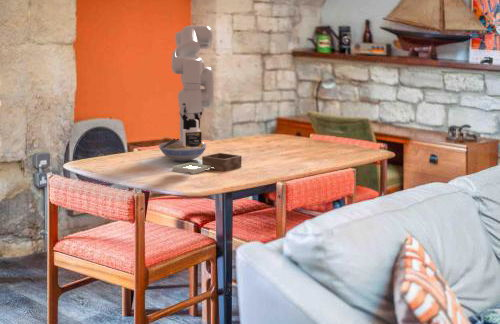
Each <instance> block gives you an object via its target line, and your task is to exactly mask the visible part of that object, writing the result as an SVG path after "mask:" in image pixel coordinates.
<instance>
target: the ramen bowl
mask: <svg viewBox="0 0 500 324" xmlns="http://www.w3.org/2000/svg"><path fill="white" fill-rule="evenodd" d="M207 146H208V145H207V143H204V142H202V147H197V148H185V147H184V146H183V141H180V138H177V139H176V138H173V139H172V140H170V141H167V142H166V141H165V142H162V143H159V144H158V148H159V149H160V151H161V153H162V154H163V155H165V157H167V158H168V159H170V160H173V161H175V162H179V161H187V162H190V160H191V161H192V160H194V159H196V158H199V157H200V156H201V155H202V154H203V153H204V152H205V150H206V149H207Z"/></svg>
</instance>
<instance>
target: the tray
mask: <svg viewBox="0 0 500 324" xmlns="http://www.w3.org/2000/svg"><path fill="white" fill-rule="evenodd" d="M189 165H192V166H198V167H201V168H197V169H188V168H183V167H186V166H189ZM208 168H211V166H209V165H203V164H201V163H196V162H187V163H182V164H177V165H173V166H172V168H171V169H172V171H174V172H179V171H180V172H179V173H185V172H190V173H191V174H192V175H195V174H199V173H203V172H202V171H203V170H205V169H208ZM190 173H189V174H190ZM191 174H190V175H191Z"/></svg>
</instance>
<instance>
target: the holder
mask: <svg viewBox="0 0 500 324" xmlns="http://www.w3.org/2000/svg"><path fill="white" fill-rule="evenodd" d="M242 158H243V157H242V155H238V154H231V153H225V152H218V153H217V152H216V153H211V154H208V155H203V156H201V159H202V161H201V163H202V164H203V165H209V166H211V167H214V168H215V169H214V170H216V171H223V172H225V171H226V172H227V171H229V170H234V169H237V168H241V167H242Z"/></svg>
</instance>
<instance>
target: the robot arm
mask: <svg viewBox="0 0 500 324" xmlns="http://www.w3.org/2000/svg"><path fill="white" fill-rule="evenodd" d="M213 38H214V37H213V30H212V28H211V27H210V26H207V25H186V26H184V27H183V28H182V30H180V31H178V32H175V36H174V41H175V45H176V48H175V49H174V50H173V52H172V55H171V71H172V72H173V73H174V74H175V75H180V81H181V84H182V89H181V90H179V91H178V93H177V101H178V108H179V112H178V114H179V141H183V130H186V129H187V130H189V129H190V120H189V119H197V120H198V121H199V129H198V130H200V128H201V119H202V116H203V113H204V111H205V109H210V108H212V107H213V106H214V102H215V101H214V100H215V99H214V97H215V95H214V90H215V89H214V82H215V81H214V71H213V69H212V68H211V67H209V66H205V61H204V60H203V58H201V57H199V55H198V54H199V52H200V50H208V49H210V48H211V46H212V43H213V40H214V39H213ZM201 87H203V88H201Z"/></svg>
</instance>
